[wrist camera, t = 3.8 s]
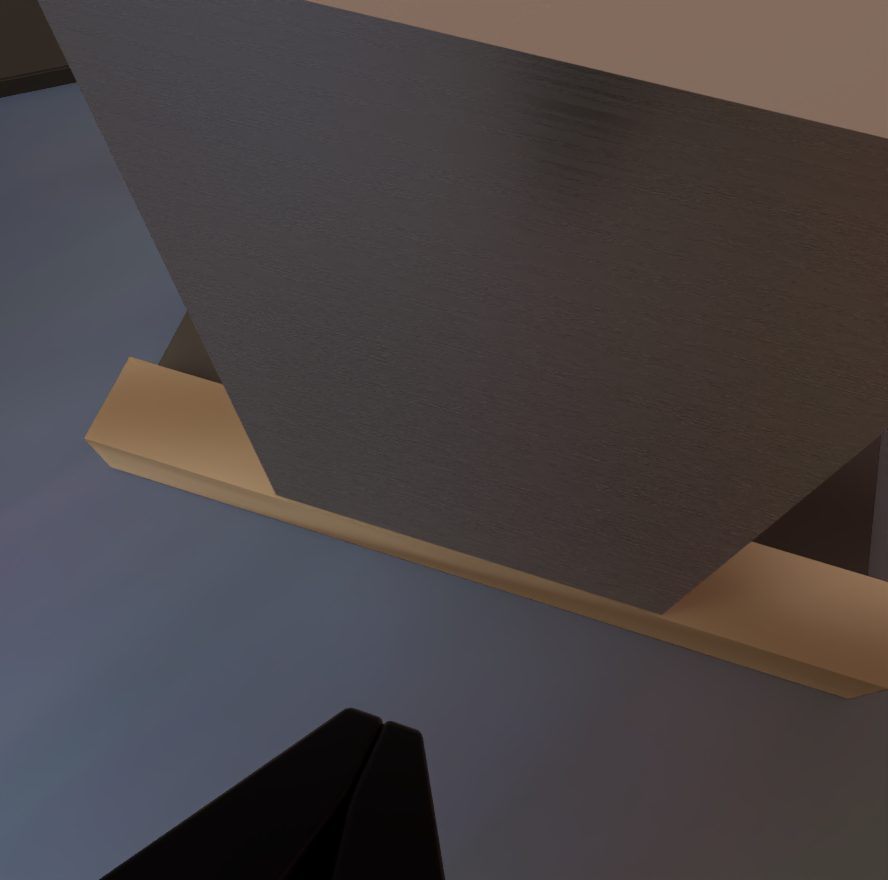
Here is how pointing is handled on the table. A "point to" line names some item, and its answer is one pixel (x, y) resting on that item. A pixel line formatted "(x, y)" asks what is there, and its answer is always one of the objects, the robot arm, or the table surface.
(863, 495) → the tunnel deck
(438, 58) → the steel sled
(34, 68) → the phone
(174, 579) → the table surface
